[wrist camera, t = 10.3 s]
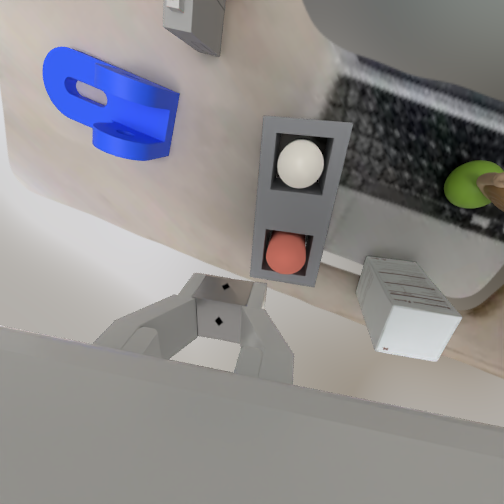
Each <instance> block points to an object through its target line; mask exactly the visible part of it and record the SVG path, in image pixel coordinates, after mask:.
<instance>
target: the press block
mask: <svg viewBox="0 0 504 504" xmlns="http://www.w3.org/2000/svg"><path fill="white" fill-rule="evenodd" d="M352 126H353V123H349V122H337V121H325V120H312V119H300V118H288V117H276V116H264V118H263V129H262V141H261V153H260V165H259V176H258V188H257V200H256V211H255V223H254V235H253V246H252V258H251V270H250V277H255V278H261V279H267V280H273V281H279V282H285V283H291V284H297V285H303V286H309V287H315V283H316V278H317V274H318V270H319V266H320V261H321V257H322V253H323V249H324V245H325V240H326V236H327V232H328V228H329V223H330V219H331V215H332V211H333V207H334V202H335V198H336V194H337V190H338V185H339V181H340V177H341V173H342V169H343V164H344V160H345V156H346V152H347V147H348V143H349V139H350V135H351V131H352ZM281 133H284V134H295V135H306V136H317V137H327V142H326V147H325V152H324V157H323V160H324V166H323V171H322V173H321V175H320V177H319V183H318V182H315V183H313V184H312V185H310V186H308V187H305V188H293V187H290V186H288V185H287V184H285V183H284V182H283V181H282V179H281V178H276V174H277V164H278V158H279V149H280V141H281ZM270 230H276V231H283V232H290V233H297V234H305V235H308V238H307V243H306V261H305V264H304V266H303V267H302V268H301V269H300V270H299V271H297V272H296V273H293V274H280V273H277V272H275V271H274V270H273V269H271V268H270V266H269V265H268V263H267V260H266V252H267V249H268V242H269V234H270Z"/></svg>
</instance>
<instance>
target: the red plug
mask: <svg viewBox="0 0 504 504" xmlns="http://www.w3.org/2000/svg"><path fill="white" fill-rule="evenodd" d="M266 260H267V263H268V265H269V266H270V268H271V269H273V270H274V271H275V272H277V273H280V274H293V273H296V272H297V271H299V270H300V269H301V268H302V267H303V266H304V264H305V261H306V246H305V234H297V233H290V232H283V231H276V230H273V232H272V235H271V238H270V242H269V245H268V249H267V252H266Z"/></svg>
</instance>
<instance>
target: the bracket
mask: <svg viewBox="0 0 504 504" xmlns="http://www.w3.org/2000/svg"><path fill="white" fill-rule="evenodd" d="M43 80H44V85H45V88H46V91H47V93H48V95H49V97H50V99H51V101H52V102H53V104H54V105H55V106H56V107H57V109H58V110H59V111H60V112H61V113H63V114H64V115H65V116H67V117H68V118H70V119H72V120H75V121H77V122H80V123H82V124H84V125H87V126H89V127H91V128H93V145H94V146H95V147H97V148H98V149H100V150H102V151H104V152H106V153H109V154H112V155H115V156H118V157H122V158H126V159H131V160H140V161H146V160H152V159H156V158H161V157H165V156H169V150H170V145H171V139H172V134H173V128H174V123H175V117H176V111H177V106H178V100H179V95H180V94H179V93H177V92H174V91H172V90H170V89H167V88H165V87H163V86H160V85H158V84H156V83H153V82H151V81H148V80H146V79H144V78H141V77H139V76H137V75H134V74H132V73H130V72H127V71H125V70H123V69H120V68H118V67H115V66H113V65H111V64H108V63H106V62H104V61H101V60H99V59H97V58H94V57H92V56H89V55H87V54H85V53H82V52H79V51H76V50H73V49H70V48H67V47H57V48H54V49H52V50H51V51H50V52H49V53H48V54H47V56H46V58H45V60H44V64H43ZM77 80H79V81H82V82H84V83H86V84H89V85H91V86H93V87H96V88H98V89H100V90H102V91H104V93H105V94H106V96H107V100H108V101H107V105H106V106H104V105H102V104H100V103H97V102H95V101H93V100H90V99H88V98H86V97H83V96H81V95H80V94H79V93H78V91H77V89H76V82H77Z"/></svg>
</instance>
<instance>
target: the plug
mask: <svg viewBox="0 0 504 504" xmlns="http://www.w3.org/2000/svg"><path fill="white" fill-rule="evenodd" d="M323 166H324V160H323V155H322V153H321V151H320V149H319V148H318V147H317V145H316V144H315V143H314V142H313V141H311V140H310V139H307V138H297V139H295V140H293V141H291V142H290V143H289V144H288V145H287V146H286V147H285V148H284V149H283V151H282V152H281V154H280V156H279V159H278V164H277V168H278V173H279V176H280V178H281V179H282V181H283V182H284V183H285V184H287V185H288V186H290V187H293V188H305V187H308V186H310V185H312V184H313V183H315V182H316V181H317V180H318V178H319V177H320V175H321V173H322V171H323Z"/></svg>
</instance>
